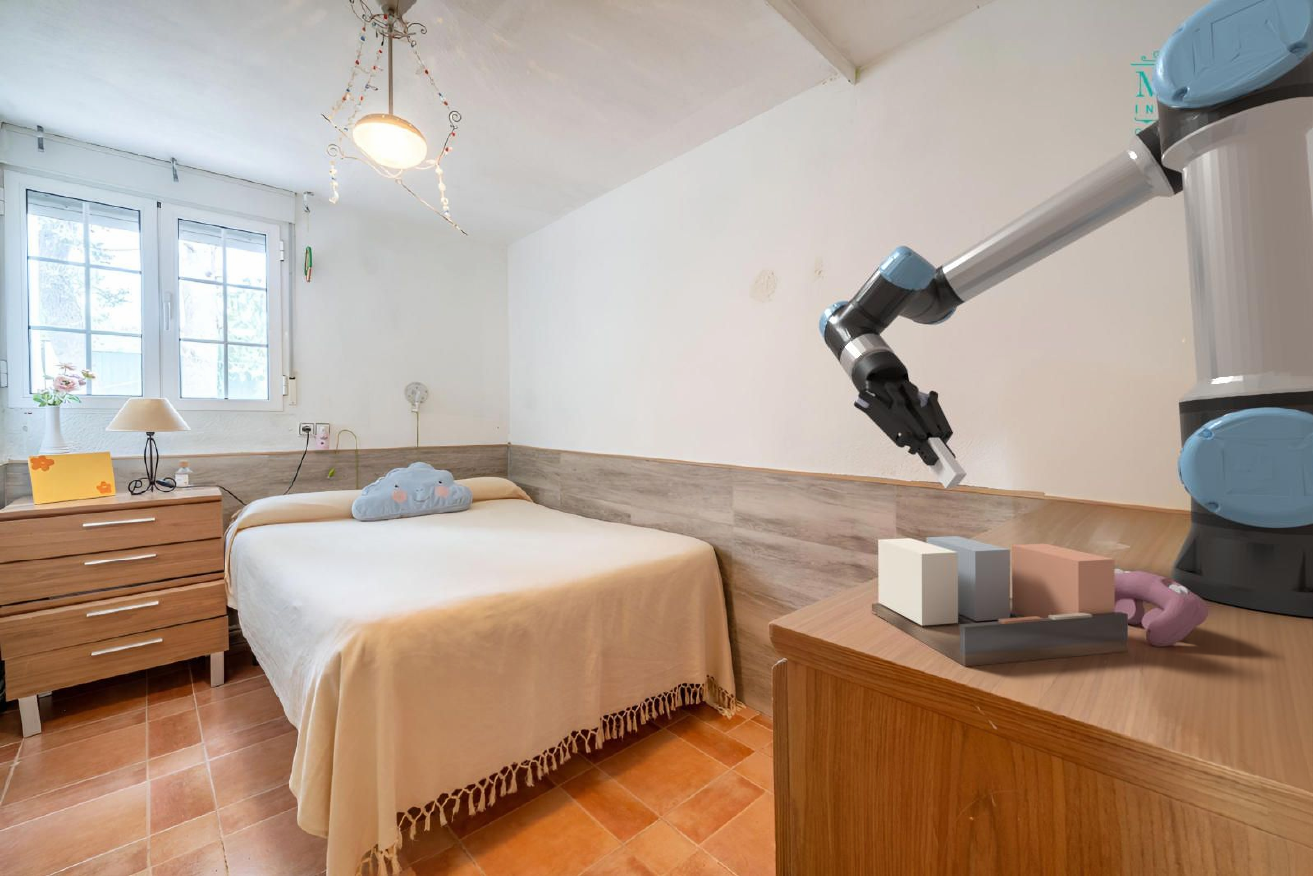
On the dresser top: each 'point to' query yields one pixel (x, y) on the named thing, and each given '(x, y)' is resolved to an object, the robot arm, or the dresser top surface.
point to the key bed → (1018, 636)
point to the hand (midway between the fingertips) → (955, 481)
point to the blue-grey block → (980, 577)
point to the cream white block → (918, 580)
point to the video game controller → (1173, 601)
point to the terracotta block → (1060, 581)
